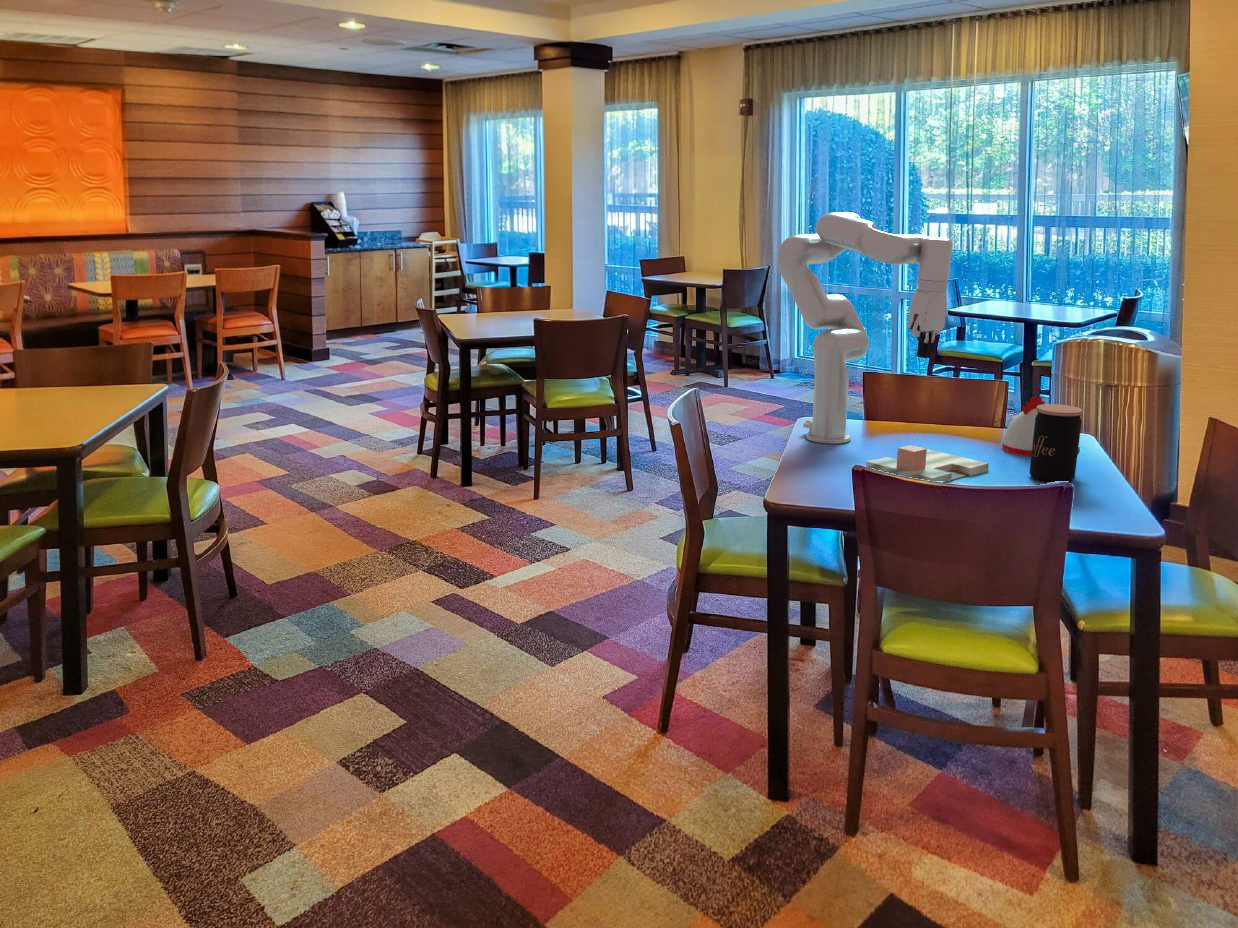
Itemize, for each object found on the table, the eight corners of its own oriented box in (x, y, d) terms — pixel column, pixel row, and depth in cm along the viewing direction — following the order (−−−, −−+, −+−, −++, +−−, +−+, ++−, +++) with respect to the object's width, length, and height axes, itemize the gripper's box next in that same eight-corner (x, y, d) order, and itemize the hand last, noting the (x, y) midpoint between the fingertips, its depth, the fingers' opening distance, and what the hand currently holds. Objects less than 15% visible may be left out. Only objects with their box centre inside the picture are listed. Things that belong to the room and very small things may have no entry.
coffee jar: (1021, 473, 268) (1028, 404, 264) (1061, 472, 269) (1069, 403, 265) (1040, 484, 258) (1049, 412, 253) (1082, 484, 259) (1091, 412, 254)
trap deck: (865, 468, 271) (866, 461, 271) (922, 455, 286) (923, 448, 285) (931, 486, 256) (932, 478, 255) (988, 470, 270) (988, 463, 270)
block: (896, 467, 265) (897, 447, 264) (908, 464, 268) (910, 445, 267) (913, 471, 261) (914, 451, 260) (925, 468, 264) (926, 448, 263)
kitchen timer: (1066, 452, 290) (1072, 399, 286) (1033, 458, 283) (1039, 404, 280) (1024, 442, 302) (1029, 391, 298) (991, 448, 295) (996, 395, 291)
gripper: (937, 283, 277) (929, 352, 282) (901, 286, 268) (893, 357, 273) (961, 287, 271) (952, 357, 277) (925, 290, 263) (917, 362, 268)
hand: (923, 357), depth 275 cm, fingers closed
